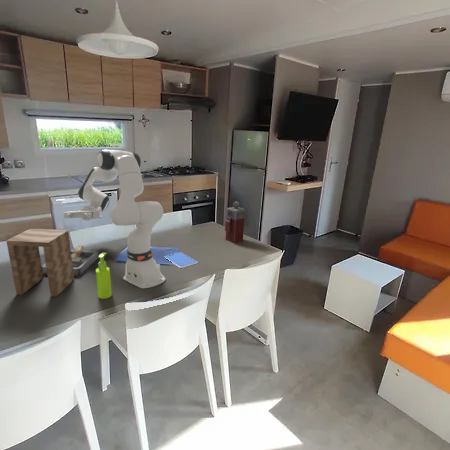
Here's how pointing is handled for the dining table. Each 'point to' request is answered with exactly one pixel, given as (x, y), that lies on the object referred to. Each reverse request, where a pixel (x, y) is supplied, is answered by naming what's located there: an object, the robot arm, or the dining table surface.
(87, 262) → the tray
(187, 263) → the blue notebook
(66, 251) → the walnut bench
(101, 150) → the robot arm
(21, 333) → the dining table surface
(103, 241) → the dining table surface
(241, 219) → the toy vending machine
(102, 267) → the soap dispenser
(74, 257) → the scraper
